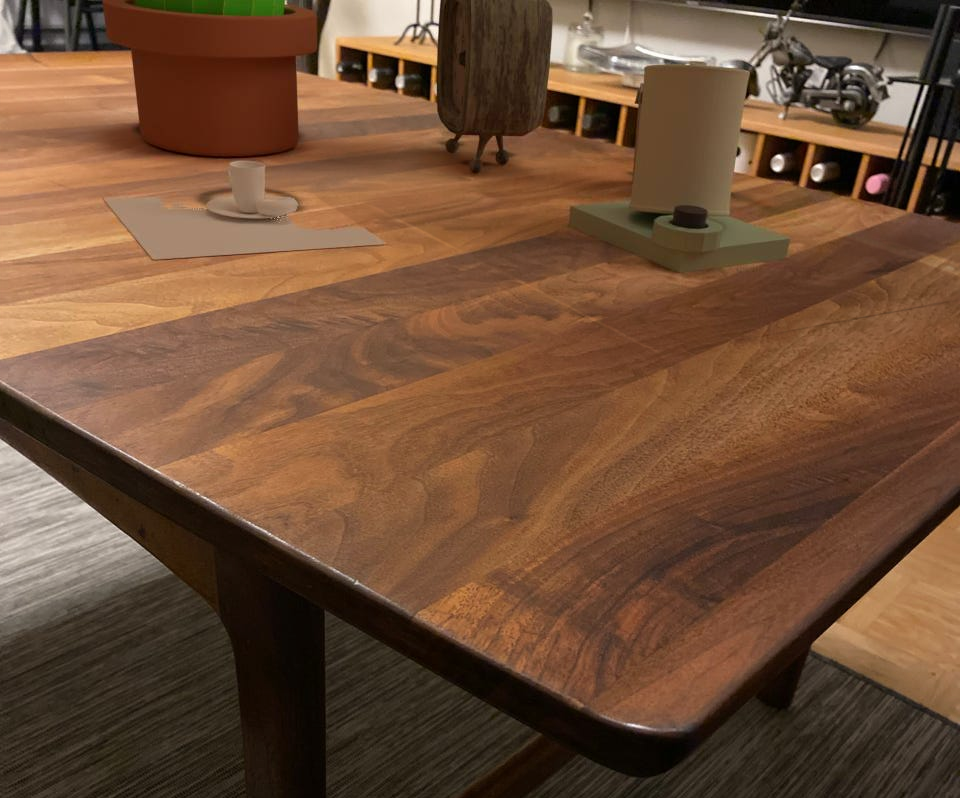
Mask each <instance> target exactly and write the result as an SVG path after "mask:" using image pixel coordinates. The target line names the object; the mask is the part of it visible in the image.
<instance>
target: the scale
mask: <svg viewBox="0 0 960 798" xmlns="http://www.w3.org/2000/svg"><path fill="white" fill-rule="evenodd" d="M629 204H630V200H622V201H610V202H600V203H587V204H577V205H574V204H573V205H570V206H569V214H568V225H567V226H568V227H570V228H572V229H575V230H577V231H578V232H581V233H584V234H586V235H589V236H590V237H593V238H595V239H598V240H601V241H603V242H605V243H608V244H610V245H613V246H615V247H617V248H619V249H622V250H624V251H626V252H628V253H631V254H634V255H635V256H639V257H640V258H642V259H645V260H647V261H650V262H651V263H655V264H657V265H659V266H662V267H664V268H667V269H669V270H672V271H674V272H675V273H678V274H682V273H683V274H684V273H691V272H698V271H699V272H700V271H705V270H713V269H720V268H726V267H727V268H729V267H734V266H742V265H749V264H758V263H764V262H765V263H766V262H772V261H778V260H780V261H781V260H786V259H787V255H788V251H789V249H790V243H791V237H789V236H786V235H783V234H780V233H777V232H774V231H772V230H769V229H766V228H763V227H760V226H757V225H755V224H752V223H749V222H746V221H744V220H741V219H738V218H735V217H732V216H730V215H729V216H707V218H706V224H705V228H704V229H688V228H683V227H678V226H675V225H672V221H673V215H674V214H663V213H652V212H643V211H635V210H631V209H629Z"/></svg>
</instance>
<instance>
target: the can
mask: <svg viewBox="0 0 960 798" xmlns="http://www.w3.org/2000/svg"><path fill="white" fill-rule="evenodd" d="M750 75H751V72H750V71H749V70H746V69H742V68H736V67H727V66H716V65H708V63H707V62H705V61H698V60H697V61H696V60H689V63H688V64H672V63H671V64H650V65H646V66H644V68H643V83H644V84H643V95H642V105H641V115H640V125H639V134H638V143H637V152H636V162H635V170H634V178H633V177H632V178H633V184H632V187H631V194H630V200H629V201H630V204H629V209H631V210H635V211H643V212H652V213H663V214H674V209H675V207H676V206H679V205H691V206H697V207H701V208H704V209H706V210H707V211H708V213H707V216H729V217H730V215H731V211H730V209H731V208H730V207H731V206H730V205H731V198H732V190H733V189H732V188H733V181H734V174H735V168H736V159H737V153H738V146H739V142H740V141H739V140H740V133H741V128H742V122H743V121H742V120H743V114H744V108H745V101H746V96H747V89H748V85H749V79H750Z"/></svg>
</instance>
